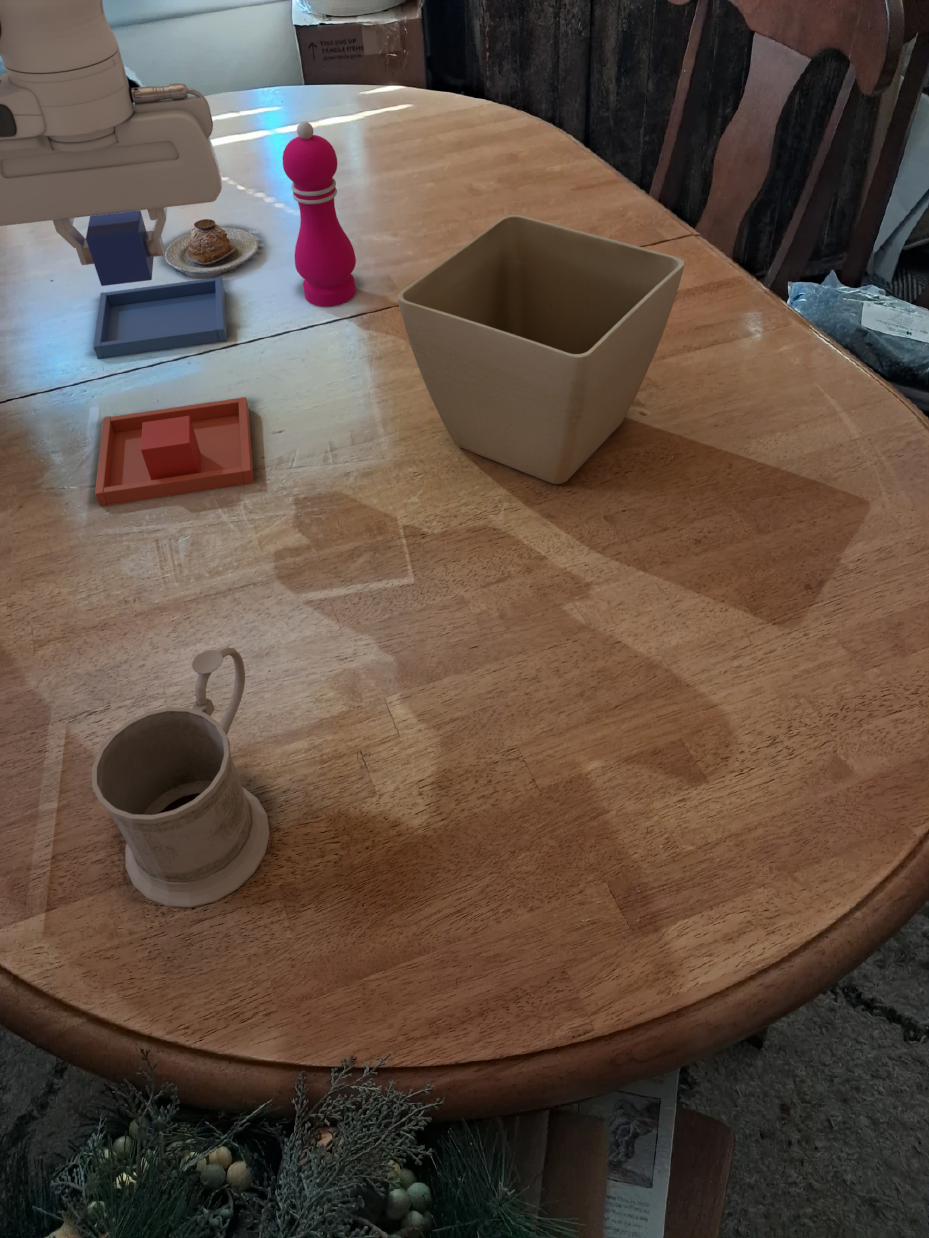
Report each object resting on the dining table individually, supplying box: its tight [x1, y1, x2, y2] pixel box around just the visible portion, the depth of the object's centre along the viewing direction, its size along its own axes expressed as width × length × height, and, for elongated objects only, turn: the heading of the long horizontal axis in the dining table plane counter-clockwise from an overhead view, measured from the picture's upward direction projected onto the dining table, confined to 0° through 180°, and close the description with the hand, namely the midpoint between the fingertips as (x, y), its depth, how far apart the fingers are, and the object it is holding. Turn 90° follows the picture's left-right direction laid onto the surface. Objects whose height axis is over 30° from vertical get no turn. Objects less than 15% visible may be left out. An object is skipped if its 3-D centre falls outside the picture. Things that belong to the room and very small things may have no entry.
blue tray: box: [92, 276, 228, 360], centre depth 117 cm, size 15×13×2 cm
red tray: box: [94, 396, 255, 507], centre depth 98 cm, size 15×13×2 cm
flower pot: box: [396, 213, 686, 485], centre depth 93 cm, size 19×19×17 cm
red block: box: [141, 416, 201, 480], centre depth 95 cm, size 4×4×4 cm
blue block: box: [85, 210, 155, 287], centre depth 89 cm, size 4×4×4 cm
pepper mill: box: [282, 121, 357, 308], centre depth 113 cm, size 7×7×20 cm
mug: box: [91, 646, 271, 909], centre depth 66 cm, size 14×10×12 cm
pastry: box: [164, 218, 259, 279], centre depth 127 cm, size 12×12×5 cm
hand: (123, 258), depth 90 cm, fingers closed on blue block, 4 cm apart
